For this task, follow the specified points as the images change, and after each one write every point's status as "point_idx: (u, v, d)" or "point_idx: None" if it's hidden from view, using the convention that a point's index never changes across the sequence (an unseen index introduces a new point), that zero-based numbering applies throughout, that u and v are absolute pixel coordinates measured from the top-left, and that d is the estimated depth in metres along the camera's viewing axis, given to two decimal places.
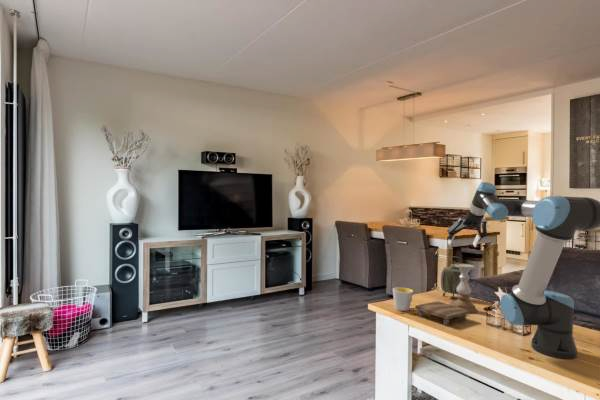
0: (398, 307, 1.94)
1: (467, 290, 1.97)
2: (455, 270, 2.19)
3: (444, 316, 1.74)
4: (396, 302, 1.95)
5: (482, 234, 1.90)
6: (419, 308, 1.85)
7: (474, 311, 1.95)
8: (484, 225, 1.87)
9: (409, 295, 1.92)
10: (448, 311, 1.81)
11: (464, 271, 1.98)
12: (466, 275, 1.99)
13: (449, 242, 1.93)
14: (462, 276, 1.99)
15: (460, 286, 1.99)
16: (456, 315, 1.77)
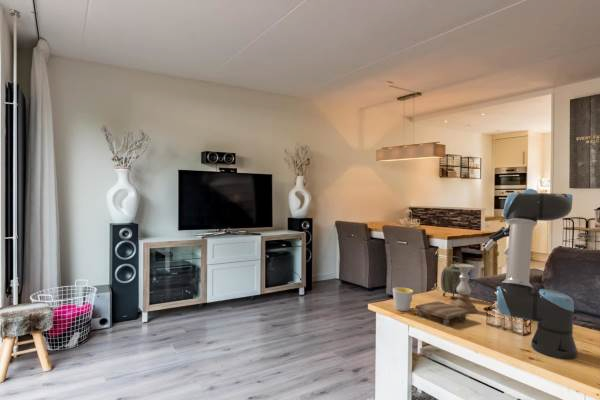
0: (398, 307, 1.94)
1: (467, 290, 1.97)
2: (455, 270, 2.19)
3: (444, 316, 1.74)
4: (396, 302, 1.95)
5: None
6: (419, 308, 1.85)
7: (474, 311, 1.95)
8: None
9: (409, 295, 1.92)
10: (448, 311, 1.81)
11: (464, 271, 1.98)
12: (466, 275, 1.99)
13: None
14: (462, 276, 1.99)
15: (460, 286, 1.99)
16: (456, 315, 1.77)
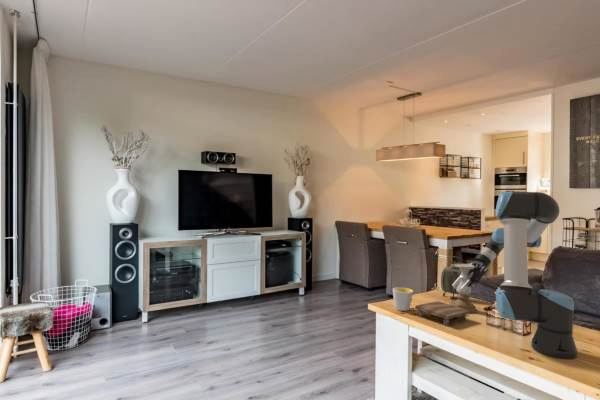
0: (398, 307, 1.94)
1: (467, 290, 1.97)
2: (455, 270, 2.19)
3: (444, 316, 1.74)
4: (396, 302, 1.95)
5: (472, 277, 1.96)
6: (419, 308, 1.85)
7: (474, 311, 1.95)
8: (481, 269, 1.97)
9: (409, 295, 1.92)
10: (448, 311, 1.81)
11: (464, 271, 1.98)
12: (466, 275, 1.99)
13: None
14: (462, 276, 1.99)
15: (460, 286, 1.99)
16: (456, 315, 1.77)
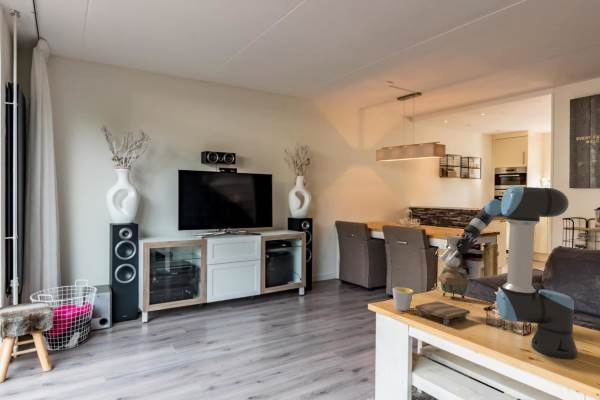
0: (398, 307, 1.94)
1: (455, 261, 1.90)
2: None
3: (444, 316, 1.74)
4: (396, 302, 1.95)
5: (461, 248, 1.89)
6: (419, 308, 1.85)
7: (463, 283, 1.88)
8: (470, 239, 1.89)
9: (409, 295, 1.92)
10: (448, 311, 1.81)
11: (452, 242, 1.91)
12: (454, 246, 1.91)
13: None
14: (450, 247, 1.92)
15: (448, 258, 1.92)
16: (456, 315, 1.77)
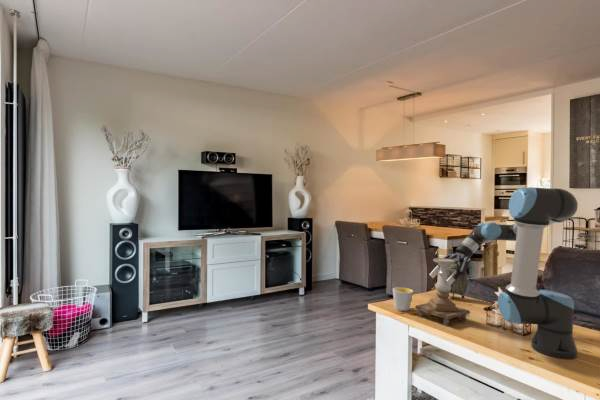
0: (398, 307, 1.94)
1: (447, 287, 1.81)
2: (455, 270, 2.19)
3: (444, 316, 1.74)
4: (396, 302, 1.95)
5: (459, 268, 1.78)
6: (419, 308, 1.85)
7: (454, 310, 1.80)
8: (465, 259, 1.80)
9: (409, 295, 1.92)
10: None
11: (443, 266, 1.83)
12: (446, 270, 1.83)
13: None
14: (441, 272, 1.83)
15: (439, 282, 1.83)
16: (456, 315, 1.77)
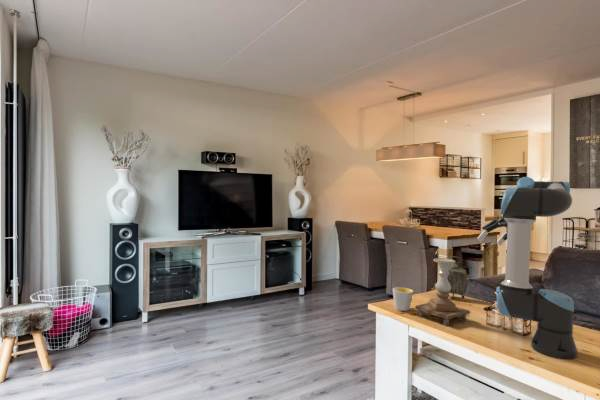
0: (398, 307, 1.94)
1: (446, 287, 1.81)
2: (455, 270, 2.19)
3: (444, 316, 1.74)
4: (396, 302, 1.95)
5: None
6: (419, 308, 1.85)
7: (454, 310, 1.80)
8: None
9: (409, 295, 1.92)
10: None
11: (443, 266, 1.83)
12: (446, 270, 1.83)
13: None
14: (441, 272, 1.83)
15: (439, 282, 1.83)
16: (456, 315, 1.77)
